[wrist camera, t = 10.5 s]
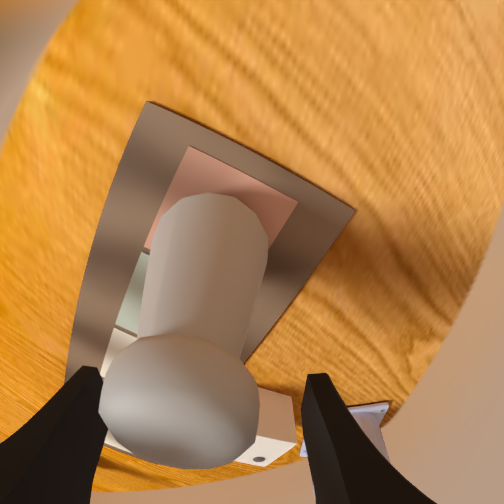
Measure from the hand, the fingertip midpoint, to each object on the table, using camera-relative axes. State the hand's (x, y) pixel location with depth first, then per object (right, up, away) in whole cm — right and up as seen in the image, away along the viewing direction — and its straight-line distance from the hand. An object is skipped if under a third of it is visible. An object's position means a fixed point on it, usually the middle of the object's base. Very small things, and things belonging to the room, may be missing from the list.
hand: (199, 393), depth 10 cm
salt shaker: (0, +6, +8) cm, 10 cm away
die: (+2, -9, +16) cm, 18 cm away
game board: (-7, -5, +14) cm, 16 cm away
